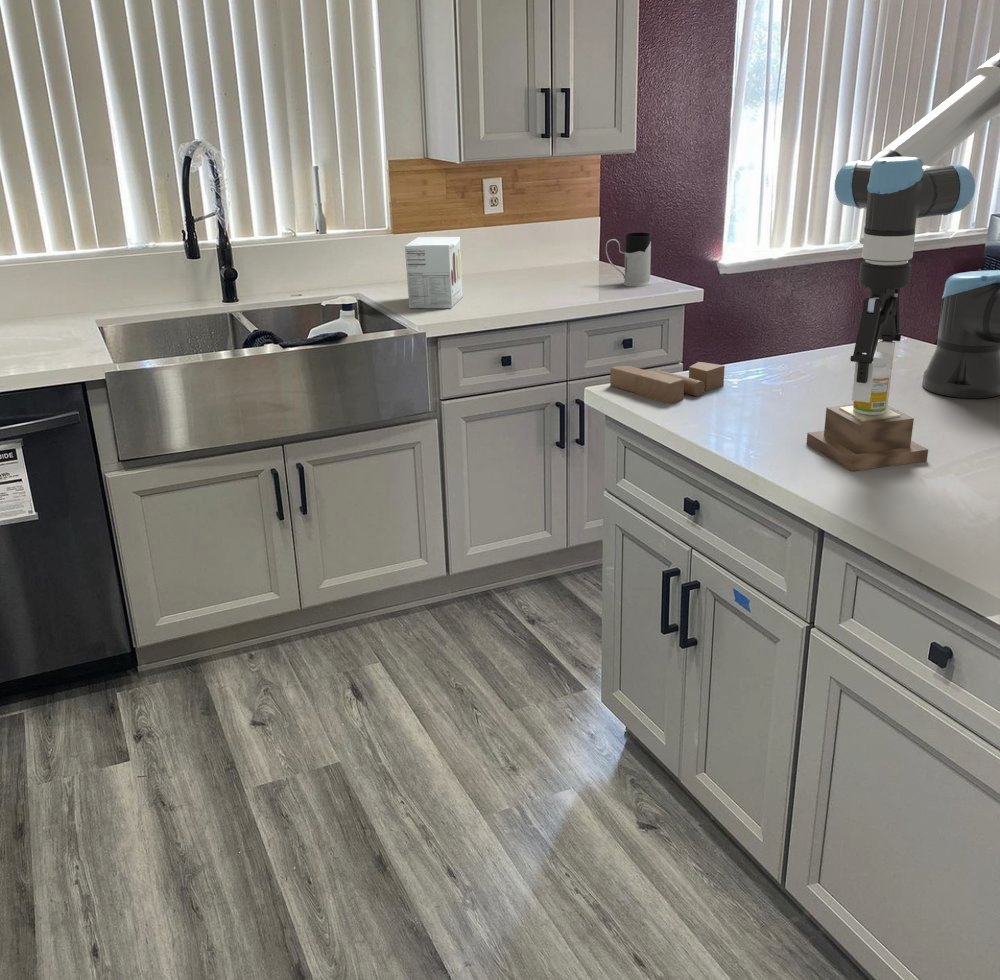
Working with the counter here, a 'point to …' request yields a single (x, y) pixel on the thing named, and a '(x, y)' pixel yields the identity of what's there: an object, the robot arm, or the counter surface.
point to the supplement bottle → (877, 388)
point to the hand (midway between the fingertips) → (871, 389)
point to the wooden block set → (668, 381)
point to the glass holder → (636, 259)
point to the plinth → (867, 457)
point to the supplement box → (434, 272)
